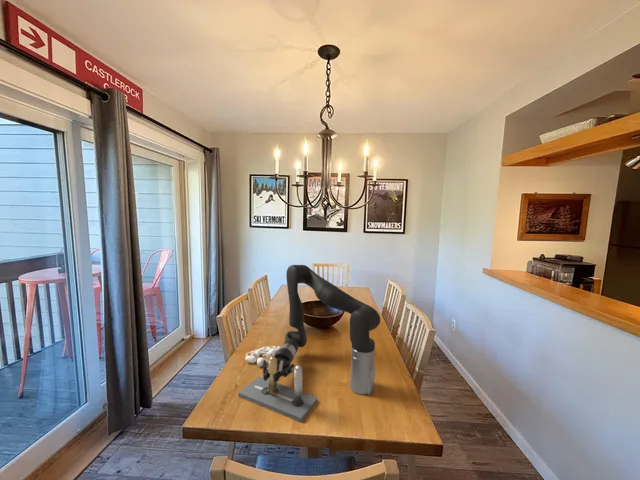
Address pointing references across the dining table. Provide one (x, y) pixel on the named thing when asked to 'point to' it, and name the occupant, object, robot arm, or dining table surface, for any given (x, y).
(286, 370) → the robot arm
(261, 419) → the dining table surface
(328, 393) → the dining table surface
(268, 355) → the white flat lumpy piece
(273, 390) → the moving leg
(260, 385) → the board
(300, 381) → the fixed leg
